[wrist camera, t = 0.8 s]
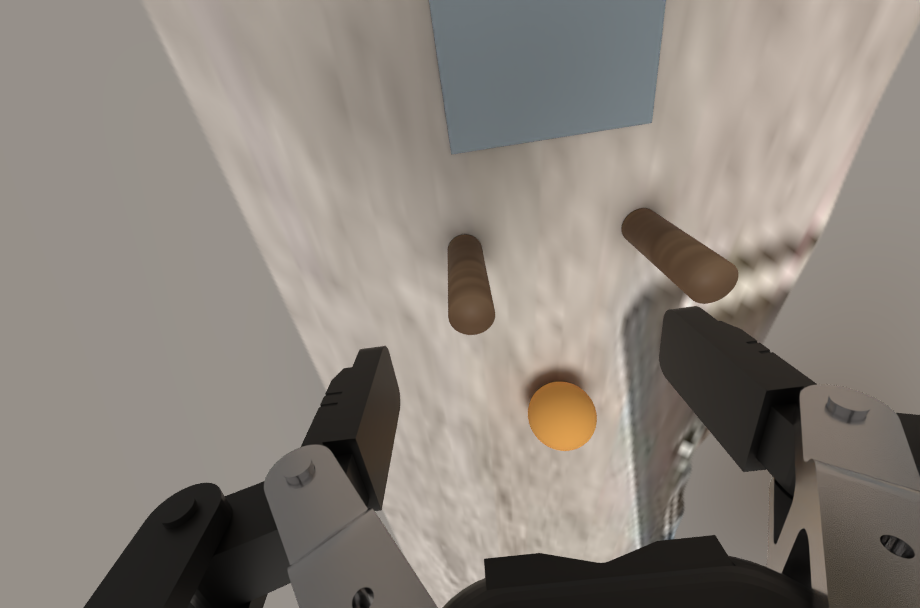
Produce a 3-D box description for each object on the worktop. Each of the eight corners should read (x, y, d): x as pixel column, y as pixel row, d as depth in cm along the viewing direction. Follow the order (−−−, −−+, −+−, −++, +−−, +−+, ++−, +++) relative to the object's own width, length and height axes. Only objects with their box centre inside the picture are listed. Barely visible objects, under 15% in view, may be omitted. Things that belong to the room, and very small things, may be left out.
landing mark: (409, -131, 18) (409, -132, 18) (685, -184, 17) (687, -187, 17) (451, 153, 25) (451, 154, 25) (650, 122, 24) (651, 122, 24)
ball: (521, 372, 35) (533, 423, 30) (585, 364, 35) (609, 414, 30) (524, 416, 38) (536, 469, 33) (583, 408, 38) (604, 461, 33)
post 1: (445, 237, 28) (444, 299, 20) (479, 232, 28) (492, 292, 20) (450, 268, 29) (452, 337, 22) (483, 263, 29) (497, 331, 21)
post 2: (623, 211, 27) (692, 264, 20) (659, 205, 27) (743, 257, 19) (620, 244, 29) (684, 306, 21) (654, 239, 28) (731, 300, 21)
